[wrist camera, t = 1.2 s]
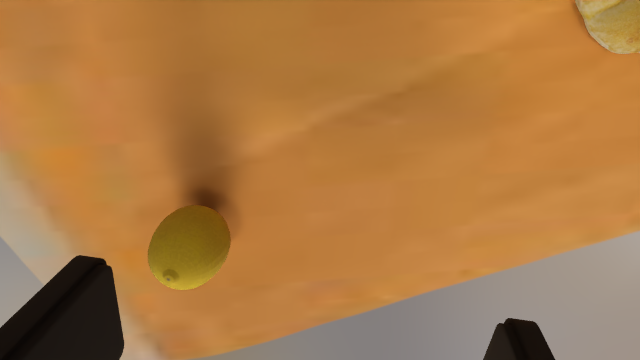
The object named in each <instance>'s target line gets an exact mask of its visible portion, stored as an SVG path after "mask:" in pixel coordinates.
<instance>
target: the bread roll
mask: <svg viewBox="0 0 640 360" xmlns="http://www.w3.org/2000/svg"><path fill="white" fill-rule="evenodd" d="M575 2H576V6H577V7H578V10H579V12H580V13H581V15H582V17H583V19H584V22H585V26H586V28H587V30H588V32H589V34H590V35H591V36H592V37H593V38H594V39H595V40H596V41H597V42H598V43H599V44H600V45H602V46H603V47H605V48H606V49H608V50H609V51H611V52H614V53H617V54H629V53H640V0H575Z"/></svg>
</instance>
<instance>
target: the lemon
mask: <svg viewBox="0 0 640 360" xmlns="http://www.w3.org/2000/svg"><path fill="white" fill-rule="evenodd" d="M229 248H230V231H229V228H228V225H227V223H226V221H225V220H224V218H223V217H222V216H221V215H220V214H219V213H218V212H216V211H215V210H213V209H211V208H208V207H206V206H200V205H191V206H186V207H183V208H180V209H177V210H176V211H174V212H173V213H171V214H170V215H168V216H167V217H166V218H165V219H164V220H163V221H162V222H161V224H160V225H159V226H158V228H157V229H156V231H155V232H154V234H153V237H152V239H151V242H150V245H149V249H148V263H149V266H150V269H151V271H152V273H153V274H154V276H155V277H156V278H157V279H158V280H159V281H160V282H161V283H162V284H164V285H166V286H168V287H170V288H173V289H178V290H187V289H193V288H196V287H198V286H201V285H203V284H204V283H206V282H207V281H208V280H210V279H211V278H212V277H213V276H214V275H215V274H216V273H217V272H218V271H219V269H220V268H221V266H222V265H223V263H224V262H225V260H226V258H227V255H228V252H229Z"/></svg>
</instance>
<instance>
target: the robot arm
mask: <svg viewBox="0 0 640 360" xmlns="http://www.w3.org/2000/svg"><path fill="white" fill-rule="evenodd" d="M123 349H124V339H123V333H122V327H121V321H120V314H119V308H118V302H117V296H116V290H115V284H114V278H113V272H112V268H111V267H110V266H108V265H107V264H106V261H105V260H104V259H101V258H95V257H88V256H81V255H79V256H76V257H75V258H73V259H72V260H71V261H70V262H69V263H68V264H67V265H66V266H65V267H64V268H63V269H62V270H61V271H60V272H58V273H57V274H56V275H55V276H54V277H53V278H52V279H51V280H50V281H49V282H48V283H47V284H46V285H45V286H44V287H43V288H42V289H41V290H40V291H39V292H37V293H36V294H35V295H34V296H33V297H32V298H31V299H30V300H29V301H28V302H27V303H26V304H25V305H24V306H23V307H22V308H21V309H20V310H19V311H18V312H16V313H15V314H14V315H13V316H12V317H11V318H10V319H9V320H8V321H7V322H6V323H5V324H4V325H3V326H2V327H1V328H0V360H119V359H120V357H121V355H122V353H123ZM483 360H555V359H554V356H553V355H552V352H551V350H550V348H549V347H548V345H547V342H546V341H545V338H544V336H543V334H542V332H541V330H540V328H539V327H538V325H537V324H536V323H535V322H533V321H525V320H519V319H512V318H508V319H506V321H505V322H504V324H502V323H499V324H498V325H497V327H496V329H495V331H494V334H493V336H492V339H491V341H490V344H489V346H488V349H487V351H486V354H485V356H484V359H483Z"/></svg>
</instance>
